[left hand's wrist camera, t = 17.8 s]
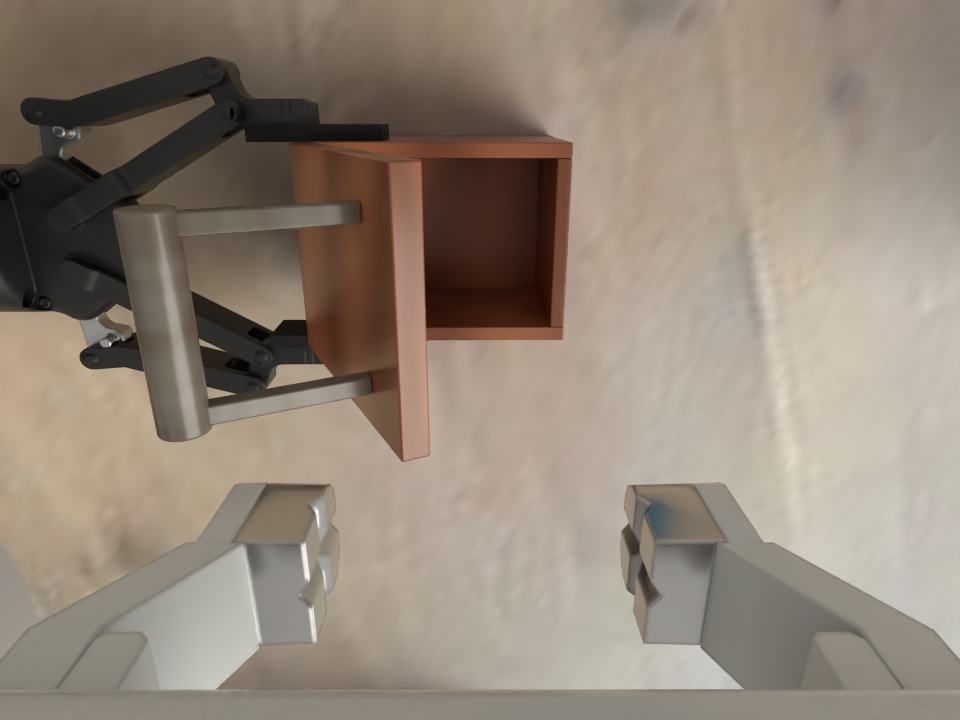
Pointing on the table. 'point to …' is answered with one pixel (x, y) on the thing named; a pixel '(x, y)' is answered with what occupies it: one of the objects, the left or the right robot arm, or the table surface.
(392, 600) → the table surface
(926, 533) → the table surface
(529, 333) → the chest
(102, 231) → the right robot arm
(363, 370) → the lid
